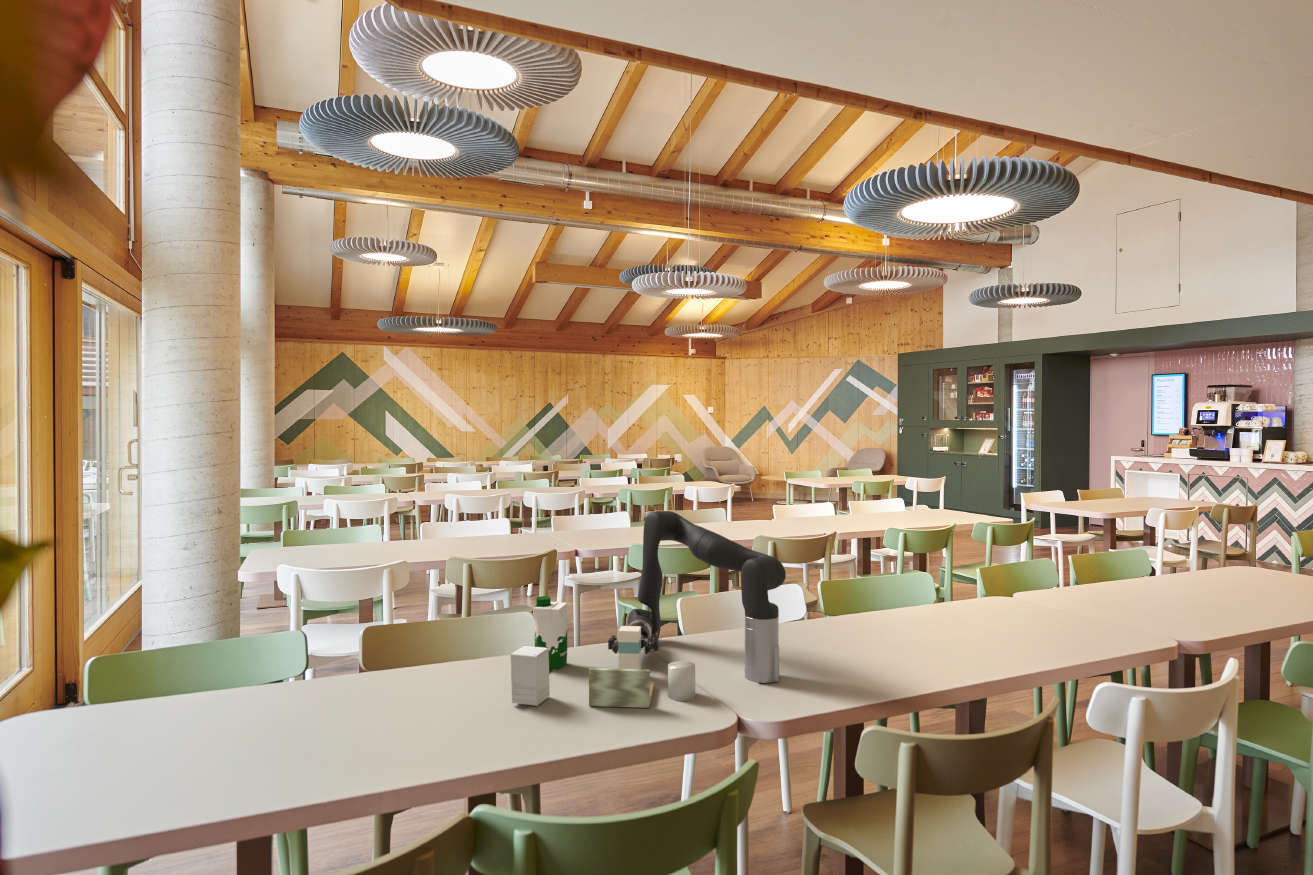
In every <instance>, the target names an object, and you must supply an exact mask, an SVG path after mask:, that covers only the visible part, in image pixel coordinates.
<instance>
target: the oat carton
mask: <svg viewBox="0 0 1313 875" xmlns="http://www.w3.org/2000/svg"><path fill="white" fill-rule="evenodd" d="M617 638H618V652H617V654H618V661H617V662H618V664H617V665H618V668H617V669H642V650H641V626H628V625H620V628H619V629H618V637H617Z"/></svg>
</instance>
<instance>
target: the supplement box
mask: <svg viewBox="0 0 1313 875" xmlns="http://www.w3.org/2000/svg"><path fill="white" fill-rule="evenodd" d="M510 669H511V670H510V677H511V679H510V680H511V682H510V683H511V703H512V704H519V705H521V704H522V705H527V706H529V705H530V706H536V707H538V706H539V705H540V704H542V703H543V702H544V701H545V700H546V699H548V698H549V697H550V693H551V692H550V671H549V648H543V647H535V646H530V645H523V646H521V647H520V648H518V649H516V650H515V651H514V652H512V653H510Z"/></svg>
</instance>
